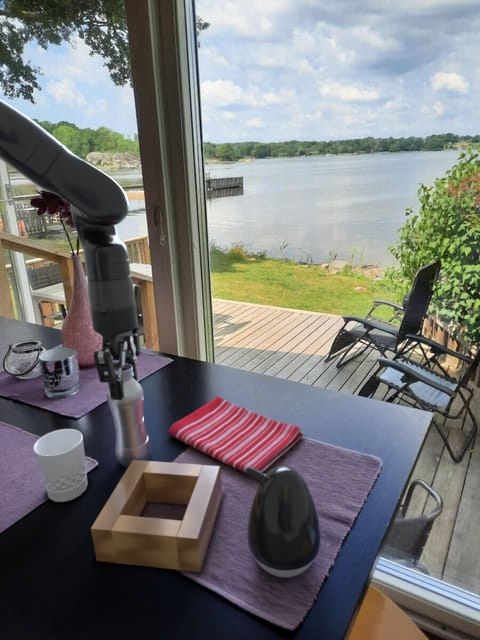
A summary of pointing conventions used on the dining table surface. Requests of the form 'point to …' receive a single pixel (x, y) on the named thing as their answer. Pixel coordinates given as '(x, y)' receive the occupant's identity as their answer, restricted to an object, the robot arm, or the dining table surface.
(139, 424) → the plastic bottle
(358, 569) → the dining table surface
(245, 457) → the dish towel
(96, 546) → the holder
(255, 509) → the pump dispenser
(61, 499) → the white cup
